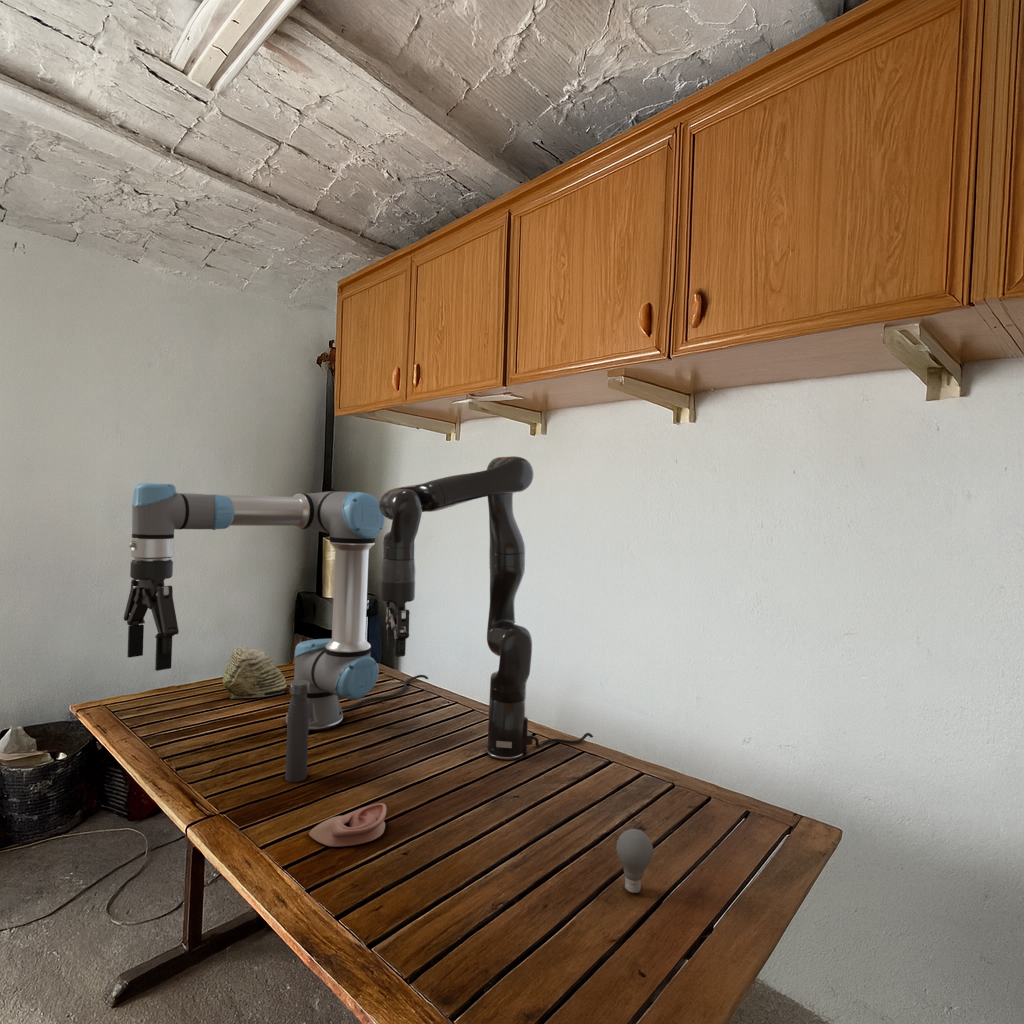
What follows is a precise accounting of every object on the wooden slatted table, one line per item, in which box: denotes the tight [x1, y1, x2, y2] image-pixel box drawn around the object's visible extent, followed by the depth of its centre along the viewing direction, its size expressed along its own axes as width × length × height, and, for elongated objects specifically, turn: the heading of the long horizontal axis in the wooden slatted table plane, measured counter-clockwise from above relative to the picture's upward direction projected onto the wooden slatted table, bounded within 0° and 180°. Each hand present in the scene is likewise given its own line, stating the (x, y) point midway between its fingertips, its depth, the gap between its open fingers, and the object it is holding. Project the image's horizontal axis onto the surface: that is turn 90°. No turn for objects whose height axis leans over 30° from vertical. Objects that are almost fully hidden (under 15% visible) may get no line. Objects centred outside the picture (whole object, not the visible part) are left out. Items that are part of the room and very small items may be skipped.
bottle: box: [284, 694, 309, 783], centre depth 142 cm, size 5×5×21 cm
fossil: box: [222, 646, 288, 699], centre depth 198 cm, size 9×18×15 cm, turn 132°
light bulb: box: [615, 828, 654, 894], centre depth 106 cm, size 6×6×10 cm
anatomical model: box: [308, 802, 387, 848], centre depth 120 cm, size 13×4×12 cm
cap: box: [288, 679, 310, 696], centre depth 142 cm, size 4×4×2 cm
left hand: (148, 662), depth 129 cm, fingers open, 13 cm apart
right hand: (395, 651), depth 141 cm, fingers open, 8 cm apart
